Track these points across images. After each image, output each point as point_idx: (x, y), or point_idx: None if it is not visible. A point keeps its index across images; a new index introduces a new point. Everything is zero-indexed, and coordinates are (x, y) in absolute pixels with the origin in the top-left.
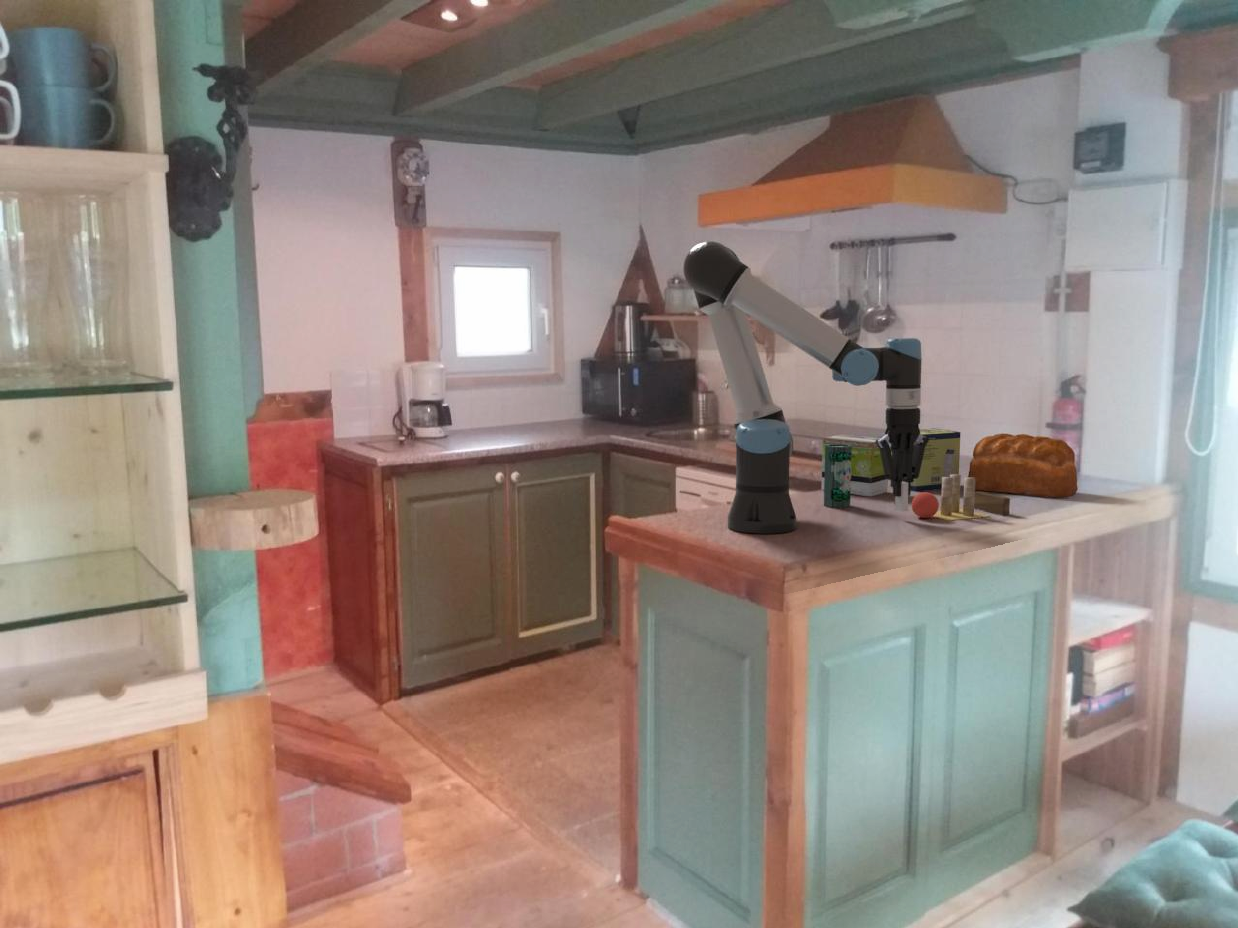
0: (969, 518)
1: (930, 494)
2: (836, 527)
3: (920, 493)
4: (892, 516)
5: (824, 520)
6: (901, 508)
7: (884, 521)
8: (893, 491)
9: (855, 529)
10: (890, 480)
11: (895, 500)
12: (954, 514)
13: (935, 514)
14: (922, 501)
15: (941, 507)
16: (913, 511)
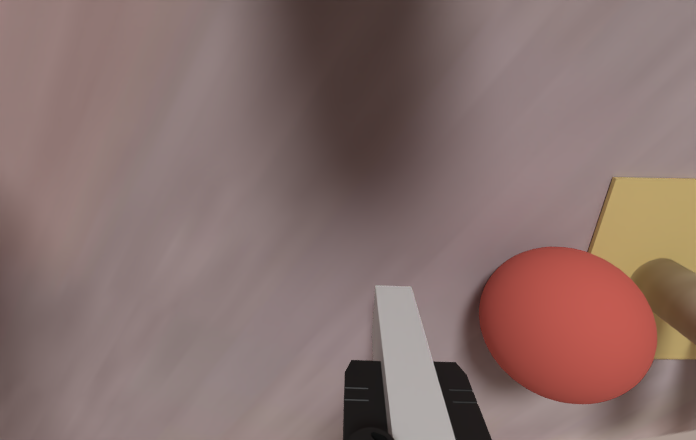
0: (662, 357)
1: (603, 399)
2: (24, 292)
3: (575, 365)
4: (416, 190)
5: (2, 134)
6: (372, 342)
7: (299, 271)
8: (344, 392)
9: (95, 346)
10: (353, 434)
11: (378, 322)
12: None
13: (622, 255)
14: (511, 376)
15: (664, 296)
16: (491, 276)
